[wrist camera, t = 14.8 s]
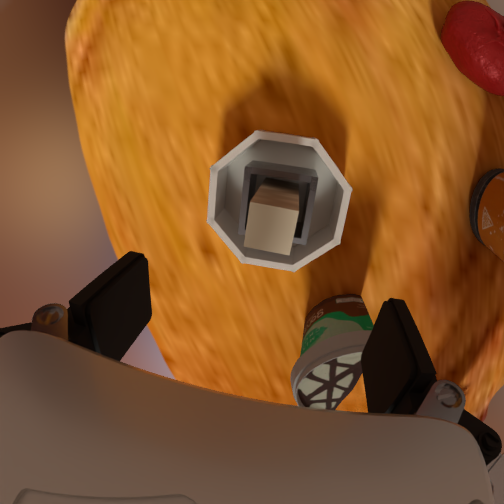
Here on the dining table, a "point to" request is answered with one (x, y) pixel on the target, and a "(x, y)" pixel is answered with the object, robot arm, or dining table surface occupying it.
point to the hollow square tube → (282, 172)
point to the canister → (489, 211)
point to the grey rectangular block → (273, 216)
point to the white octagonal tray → (288, 153)
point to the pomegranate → (476, 44)
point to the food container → (331, 352)
